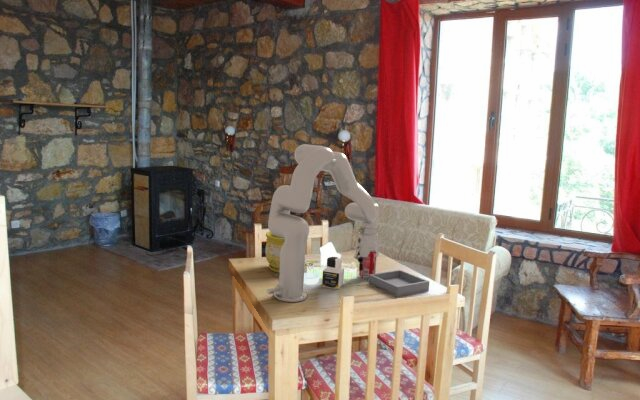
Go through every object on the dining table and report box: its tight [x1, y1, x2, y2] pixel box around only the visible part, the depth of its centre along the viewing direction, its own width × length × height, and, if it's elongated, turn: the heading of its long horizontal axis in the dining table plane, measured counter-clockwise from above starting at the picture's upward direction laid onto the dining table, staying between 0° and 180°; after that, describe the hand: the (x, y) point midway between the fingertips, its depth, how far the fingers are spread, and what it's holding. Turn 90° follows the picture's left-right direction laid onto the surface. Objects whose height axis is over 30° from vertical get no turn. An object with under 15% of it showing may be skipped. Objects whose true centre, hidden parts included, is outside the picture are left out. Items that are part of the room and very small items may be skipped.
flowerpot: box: [264, 230, 285, 274], centre depth 232 cm, size 18×18×16 cm
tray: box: [367, 269, 430, 298], centre depth 218 cm, size 18×18×4 cm
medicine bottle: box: [321, 256, 345, 290], centre depth 214 cm, size 7×7×12 cm
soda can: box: [358, 250, 378, 281], centre depth 228 cm, size 7×7×13 cm
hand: (365, 270), depth 228 cm, fingers closed on soda can, 3 cm apart
